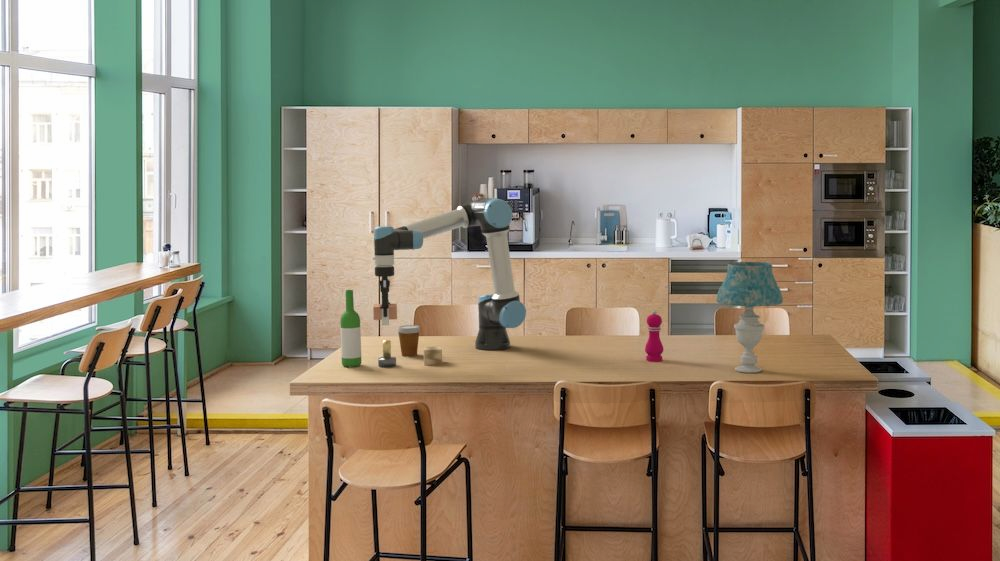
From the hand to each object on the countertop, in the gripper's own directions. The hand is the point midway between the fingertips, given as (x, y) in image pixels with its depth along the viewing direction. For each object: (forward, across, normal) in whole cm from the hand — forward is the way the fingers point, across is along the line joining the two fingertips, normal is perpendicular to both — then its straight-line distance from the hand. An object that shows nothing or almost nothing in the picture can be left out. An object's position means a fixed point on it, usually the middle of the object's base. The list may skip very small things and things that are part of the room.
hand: (385, 323), depth 387 cm
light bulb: (+17, 0, 0) cm, 17 cm away
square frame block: (-2, 0, 0) cm, 2 cm away
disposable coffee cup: (+17, -21, +9) cm, 29 cm away
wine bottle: (+17, -3, -14) cm, 22 cm away
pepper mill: (+16, +9, +105) cm, 107 cm away
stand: (+17, -2, +18) cm, 25 cm away
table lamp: (+16, +35, +134) cm, 140 cm away
